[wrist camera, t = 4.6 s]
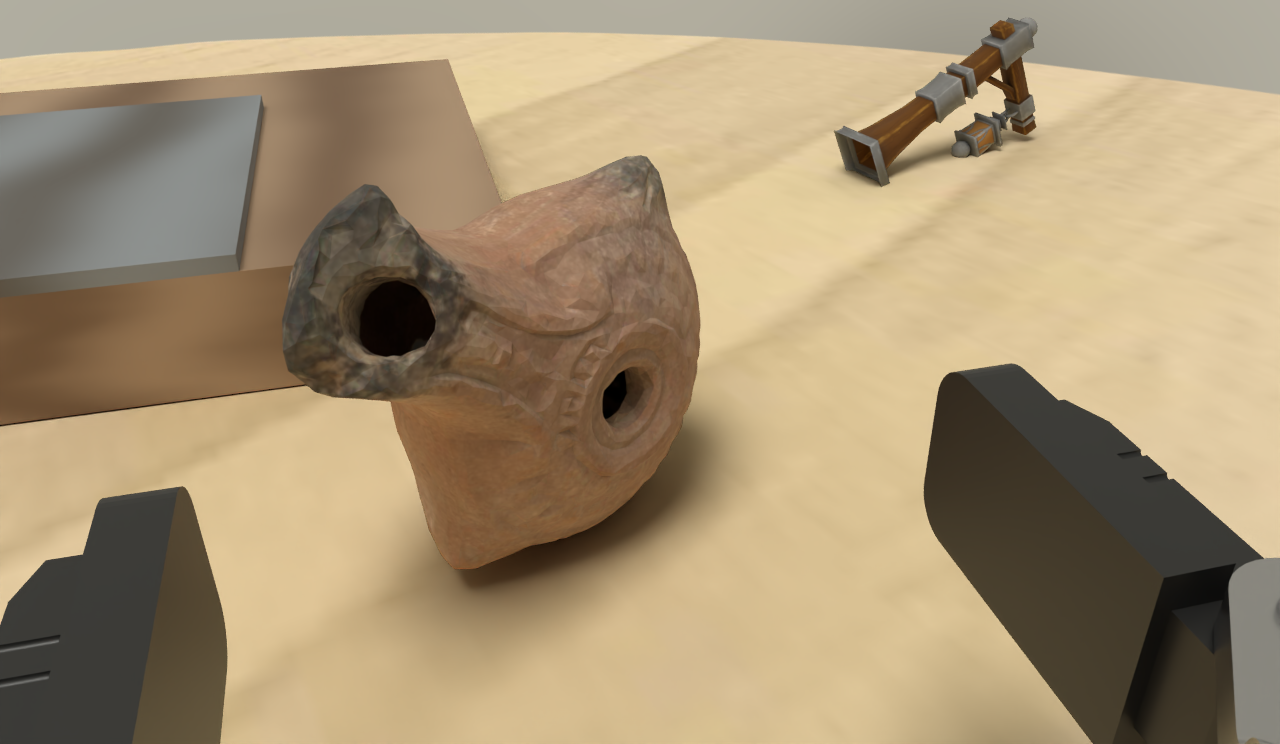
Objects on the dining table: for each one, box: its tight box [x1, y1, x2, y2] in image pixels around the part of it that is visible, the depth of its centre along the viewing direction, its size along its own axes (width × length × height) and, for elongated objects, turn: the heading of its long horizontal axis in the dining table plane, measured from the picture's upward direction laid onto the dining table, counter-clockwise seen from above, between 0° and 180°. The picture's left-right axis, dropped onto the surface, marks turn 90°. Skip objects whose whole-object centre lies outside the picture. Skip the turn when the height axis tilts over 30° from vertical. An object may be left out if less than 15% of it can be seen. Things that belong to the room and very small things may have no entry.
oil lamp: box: [282, 156, 700, 569], centre depth 18 cm, size 9×4×8 cm, turn 146°
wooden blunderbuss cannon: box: [834, 18, 1037, 187], centre depth 37 cm, size 2×8×4 cm, turn 120°
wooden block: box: [0, 59, 502, 425], centre depth 30 cm, size 20×16×3 cm
